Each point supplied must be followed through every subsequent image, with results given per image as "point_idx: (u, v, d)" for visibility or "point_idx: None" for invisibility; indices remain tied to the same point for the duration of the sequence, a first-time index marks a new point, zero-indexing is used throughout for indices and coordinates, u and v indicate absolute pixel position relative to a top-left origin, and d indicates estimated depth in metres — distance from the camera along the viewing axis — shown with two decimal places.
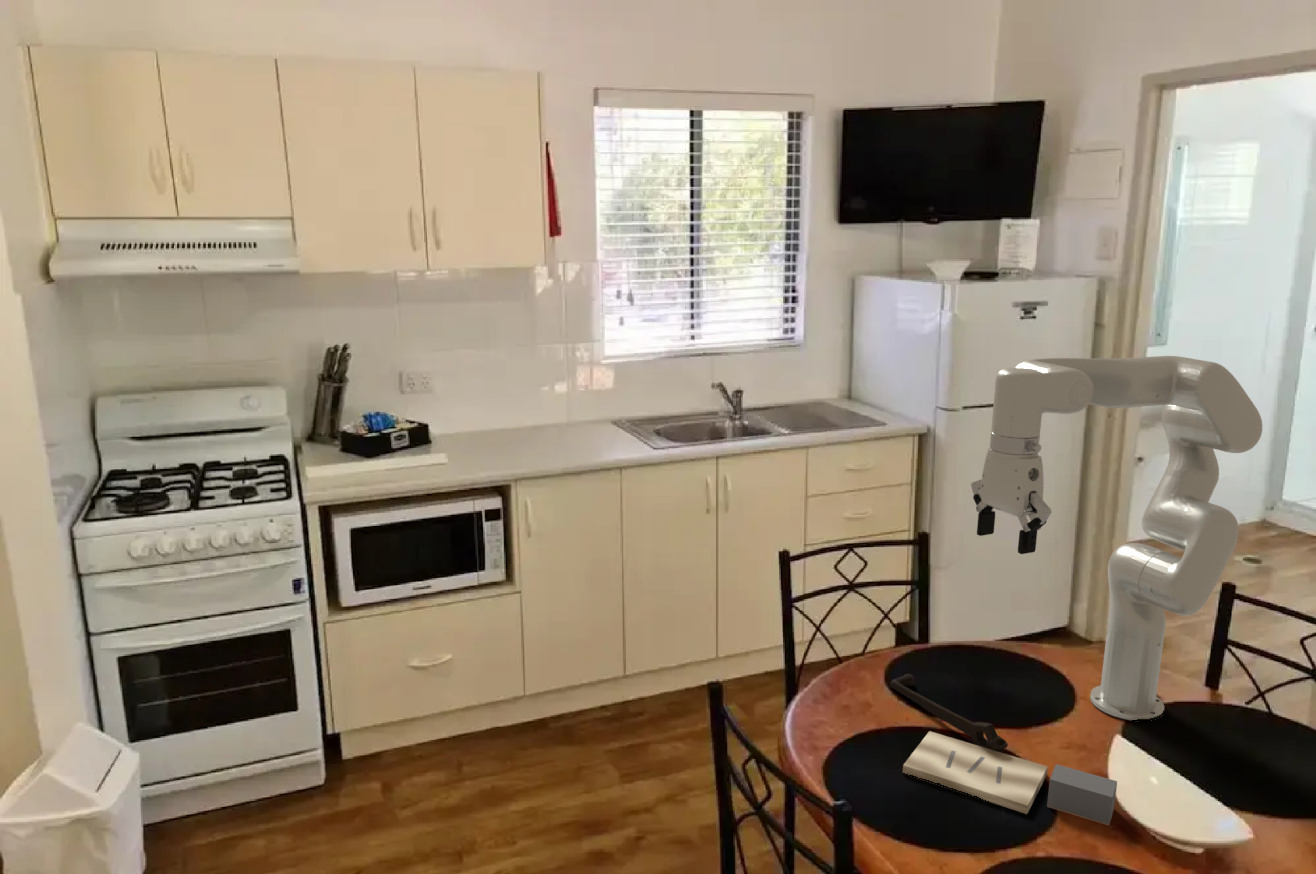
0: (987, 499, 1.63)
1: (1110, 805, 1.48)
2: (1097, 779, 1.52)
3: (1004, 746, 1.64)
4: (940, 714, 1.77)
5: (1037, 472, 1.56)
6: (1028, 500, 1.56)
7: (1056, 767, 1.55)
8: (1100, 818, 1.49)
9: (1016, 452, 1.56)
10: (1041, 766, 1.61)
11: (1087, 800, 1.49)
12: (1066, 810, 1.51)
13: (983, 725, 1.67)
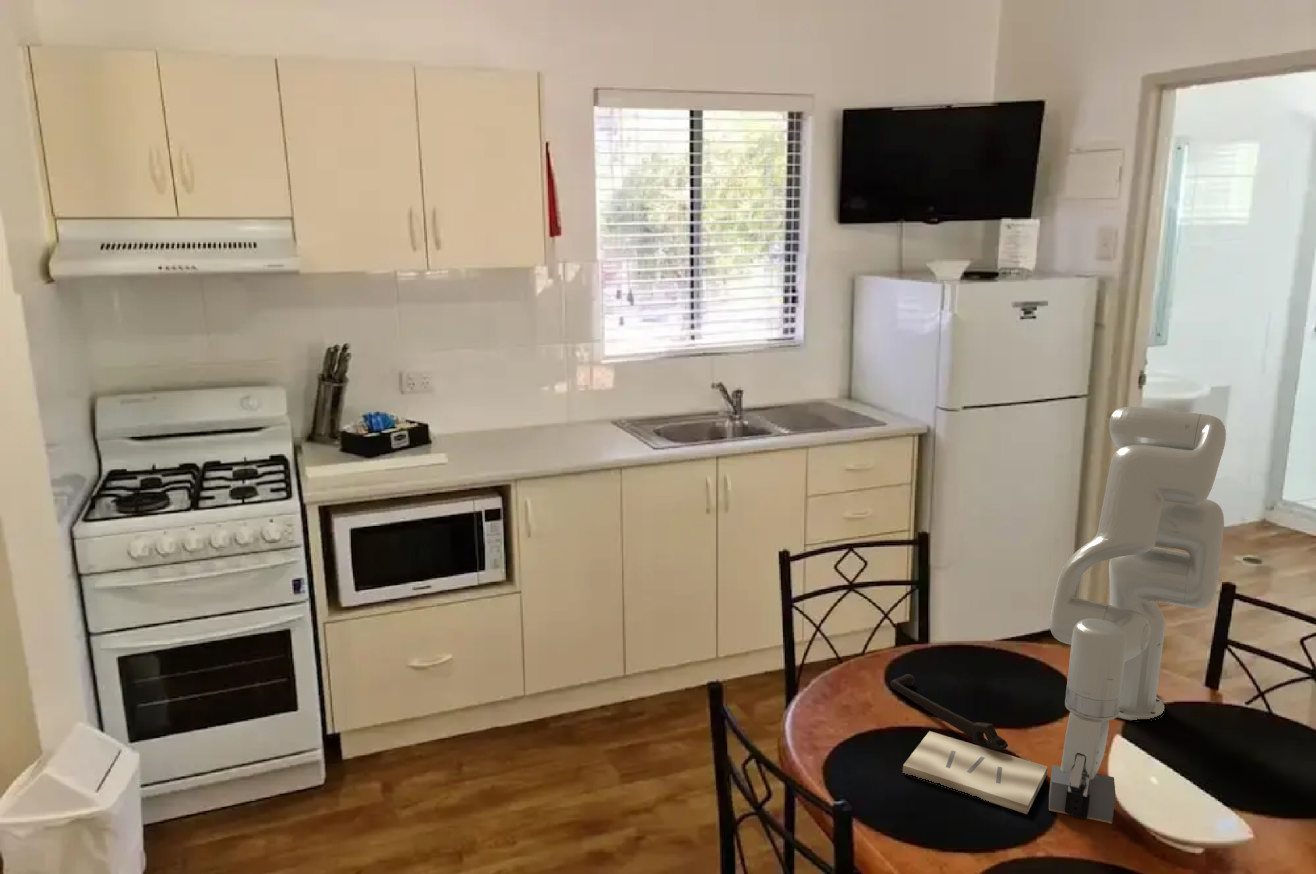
0: (1096, 771, 1.47)
1: (1113, 802, 1.48)
2: (1095, 777, 1.52)
3: (1004, 746, 1.64)
4: (940, 714, 1.77)
5: None
6: None
7: (1053, 768, 1.54)
8: (1103, 816, 1.49)
9: None
10: (1041, 766, 1.61)
11: (1090, 799, 1.49)
12: None
13: (983, 725, 1.67)
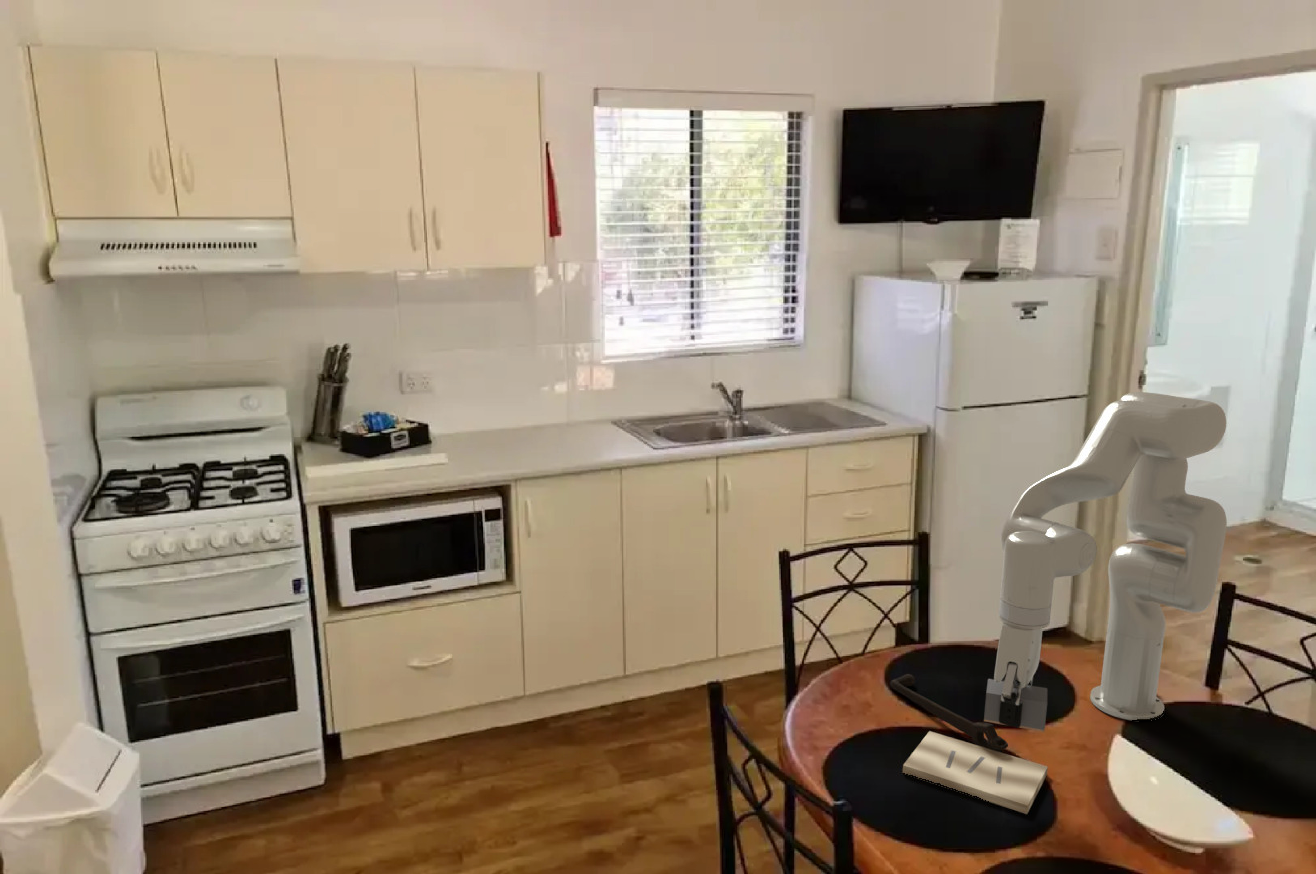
0: (1028, 679, 1.51)
1: (1045, 711, 1.51)
2: (1029, 688, 1.55)
3: (1004, 746, 1.64)
4: (940, 714, 1.77)
5: None
6: None
7: (989, 681, 1.58)
8: (1036, 725, 1.52)
9: None
10: (1041, 766, 1.61)
11: (1023, 708, 1.52)
12: None
13: (983, 725, 1.67)
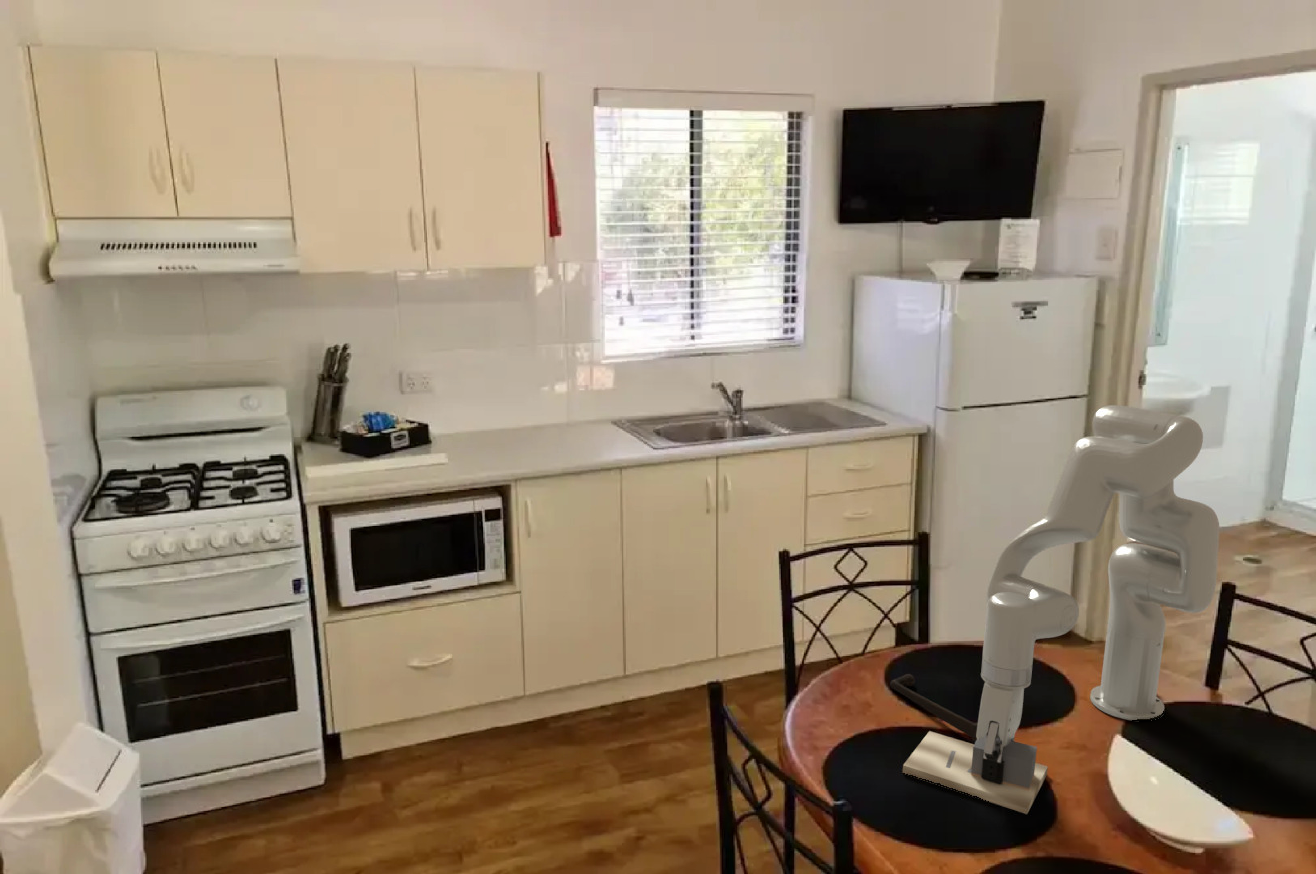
0: (1010, 738, 1.54)
1: (1030, 769, 1.54)
2: (1018, 746, 1.58)
3: None
4: (940, 714, 1.77)
5: None
6: None
7: None
8: (1021, 782, 1.55)
9: None
10: (1041, 766, 1.61)
11: (1008, 765, 1.55)
12: None
13: None
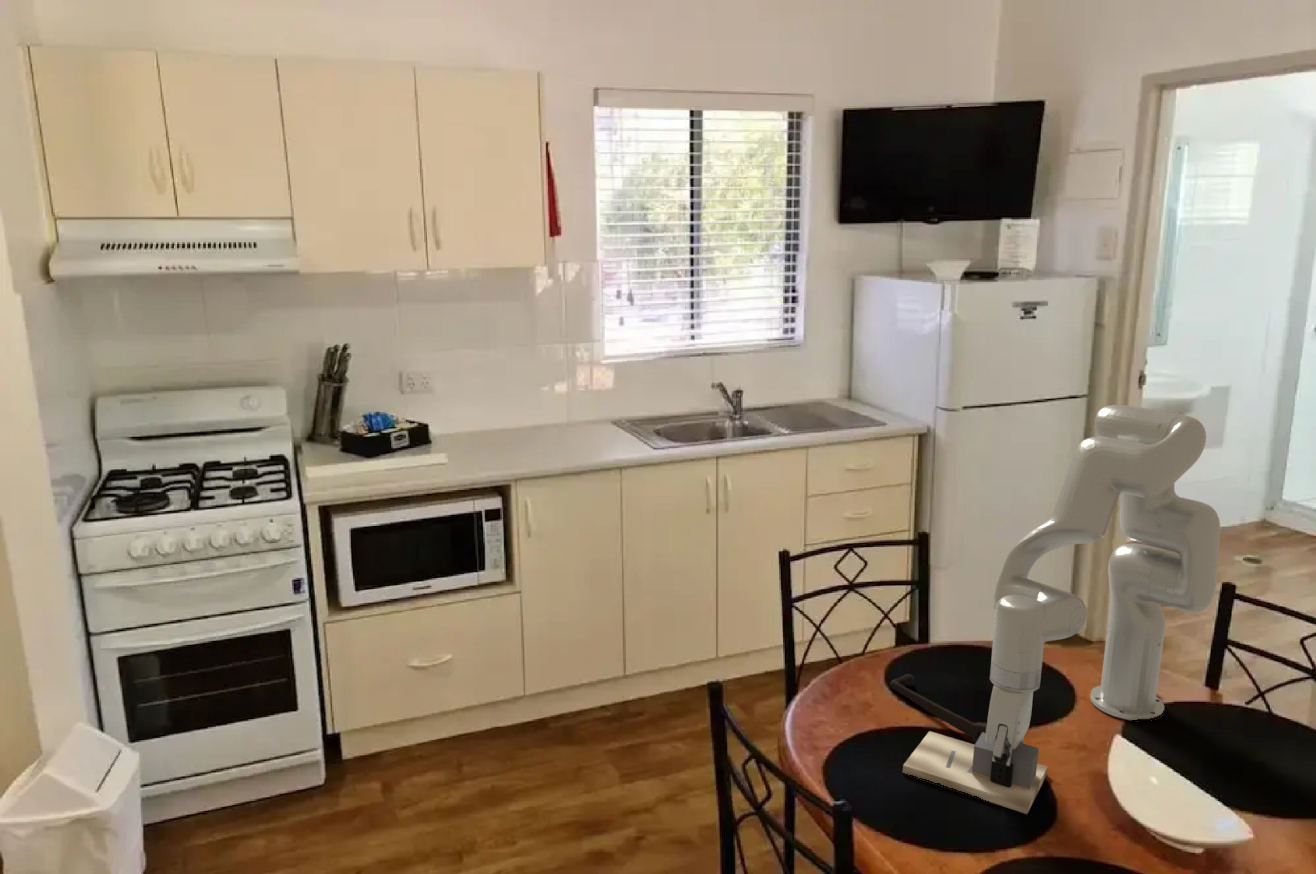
0: (1019, 741, 1.53)
1: (1030, 770, 1.54)
2: (1020, 746, 1.58)
3: None
4: (940, 714, 1.77)
5: None
6: None
7: (982, 735, 1.61)
8: (1021, 783, 1.55)
9: None
10: (1041, 766, 1.61)
11: None
12: (989, 775, 1.57)
13: (983, 725, 1.67)
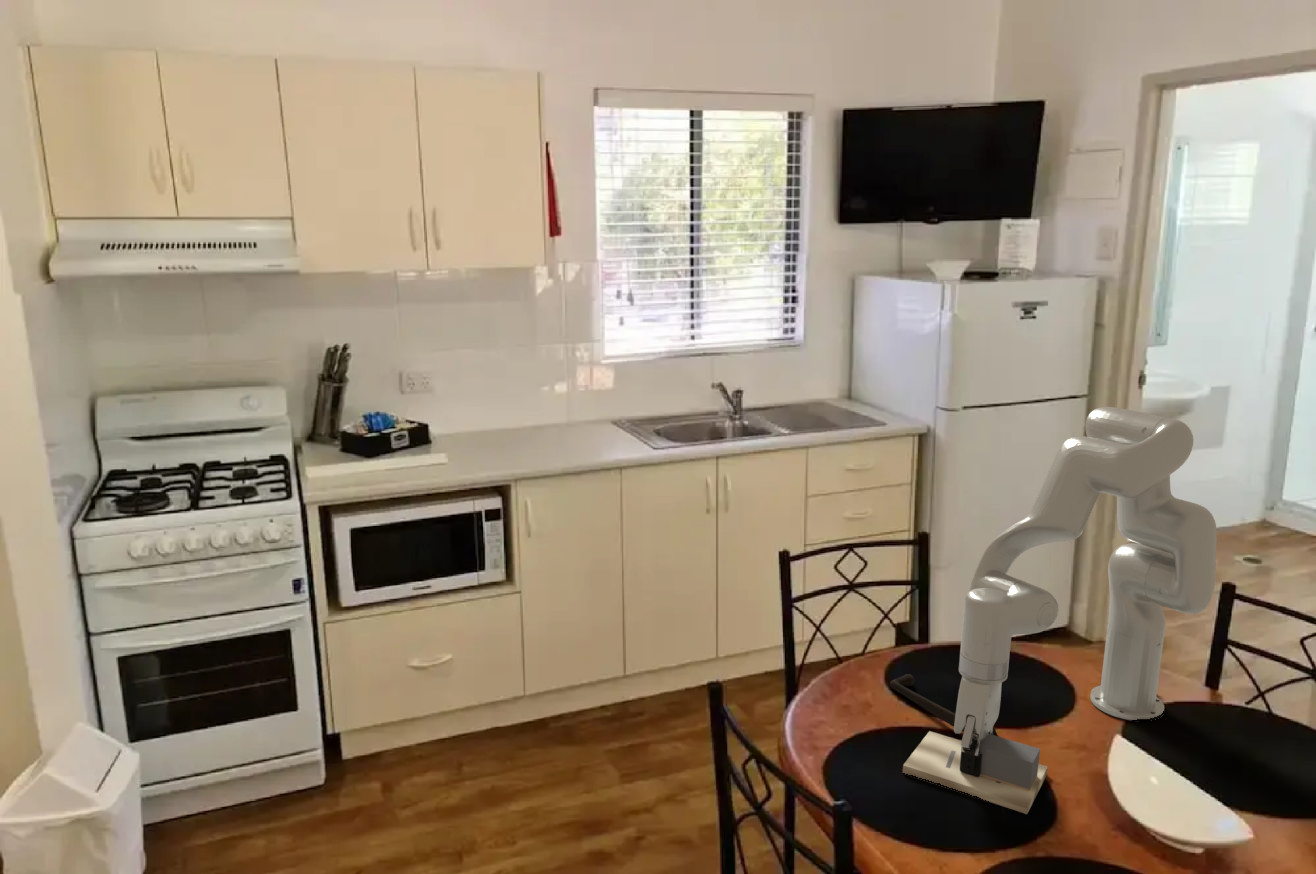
0: (987, 731, 1.56)
1: (1030, 770, 1.53)
2: (1021, 747, 1.58)
3: None
4: (940, 714, 1.77)
5: None
6: None
7: None
8: (1021, 783, 1.55)
9: None
10: (1041, 766, 1.61)
11: (1009, 766, 1.55)
12: (990, 775, 1.57)
13: None
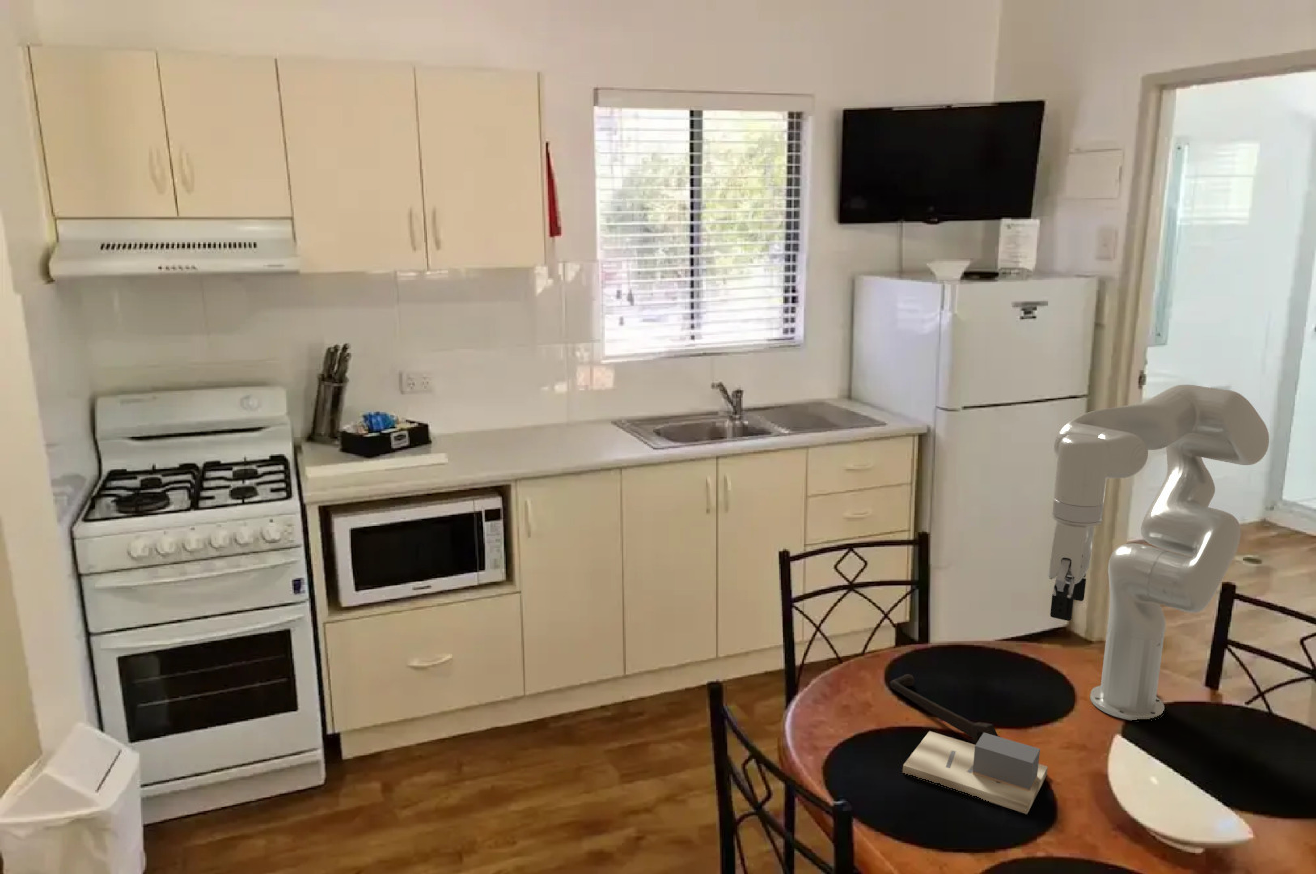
0: (1081, 576, 1.58)
1: (1030, 771, 1.53)
2: (1021, 747, 1.58)
3: None
4: (940, 714, 1.77)
5: None
6: None
7: (983, 735, 1.61)
8: (1021, 783, 1.55)
9: None
10: (1041, 766, 1.61)
11: (1009, 766, 1.55)
12: (990, 776, 1.57)
13: (983, 725, 1.67)
